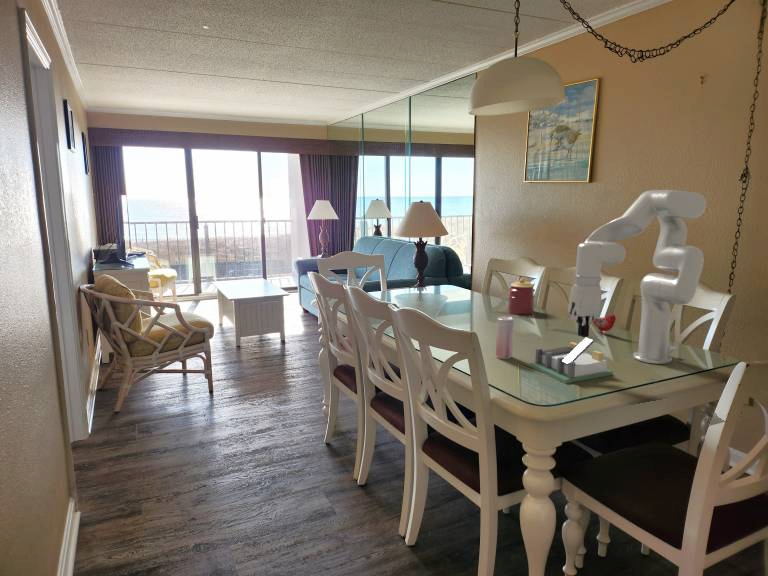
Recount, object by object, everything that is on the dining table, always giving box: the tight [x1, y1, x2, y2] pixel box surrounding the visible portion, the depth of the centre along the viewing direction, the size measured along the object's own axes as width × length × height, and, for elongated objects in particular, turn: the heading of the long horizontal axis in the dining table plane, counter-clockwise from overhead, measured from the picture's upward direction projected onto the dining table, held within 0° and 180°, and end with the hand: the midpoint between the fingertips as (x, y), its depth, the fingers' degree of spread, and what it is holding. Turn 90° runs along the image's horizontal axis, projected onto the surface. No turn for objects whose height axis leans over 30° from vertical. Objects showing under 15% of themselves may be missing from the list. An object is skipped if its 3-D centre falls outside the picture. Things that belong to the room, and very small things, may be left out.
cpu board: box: [529, 341, 614, 384], centre depth 177 cm, size 20×18×7 cm
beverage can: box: [495, 316, 514, 360], centre depth 191 cm, size 6×6×15 cm
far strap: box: [541, 346, 574, 355], centre depth 181 cm, size 12×3×1 cm, turn 113°
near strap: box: [562, 337, 595, 365], centre depth 170 cm, size 12×3×1 cm
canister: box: [507, 277, 536, 316], centre depth 262 cm, size 13×13×18 cm
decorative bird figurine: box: [592, 313, 617, 336], centre depth 222 cm, size 3×18×10 cm, turn 19°
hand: (583, 335), depth 170 cm, fingers closed
